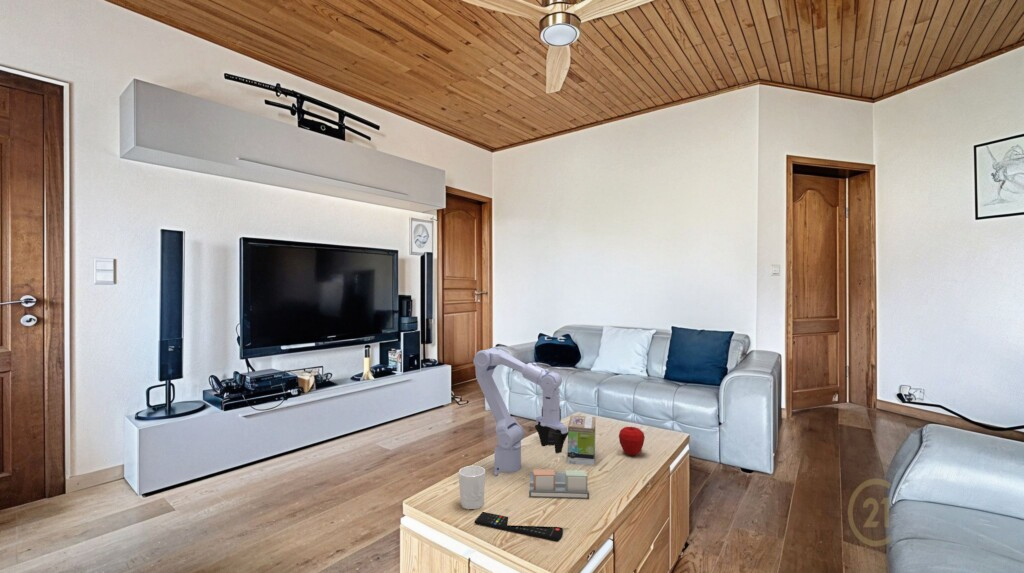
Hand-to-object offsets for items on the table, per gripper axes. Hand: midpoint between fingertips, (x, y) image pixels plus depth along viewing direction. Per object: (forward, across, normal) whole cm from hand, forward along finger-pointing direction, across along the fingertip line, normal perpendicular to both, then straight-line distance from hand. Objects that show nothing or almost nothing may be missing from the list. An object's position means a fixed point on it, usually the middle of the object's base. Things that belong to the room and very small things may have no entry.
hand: (551, 449), depth 146 cm
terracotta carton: (+9, +7, -9) cm, 14 cm away
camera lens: (+10, -28, +22) cm, 38 cm away
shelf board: (+10, +6, -2) cm, 12 cm away
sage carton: (+9, +13, -1) cm, 16 cm away
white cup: (+11, 0, -30) cm, 32 cm away
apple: (+11, -1, +40) cm, 42 cm away
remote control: (+11, +18, -26) cm, 33 cm away
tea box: (+11, -7, +20) cm, 24 cm away
